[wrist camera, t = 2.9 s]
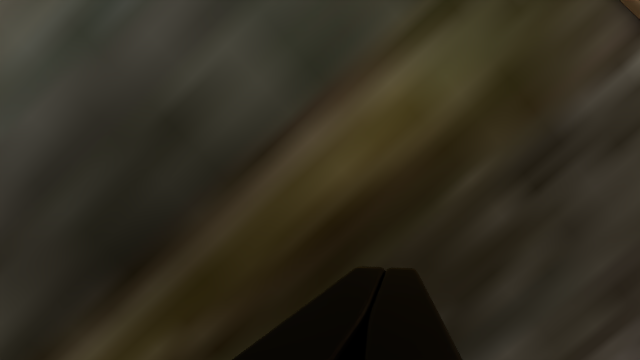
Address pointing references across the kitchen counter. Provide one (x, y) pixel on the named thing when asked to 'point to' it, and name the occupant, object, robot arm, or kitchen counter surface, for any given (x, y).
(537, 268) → the kitchen counter surface
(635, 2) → the maple mount
